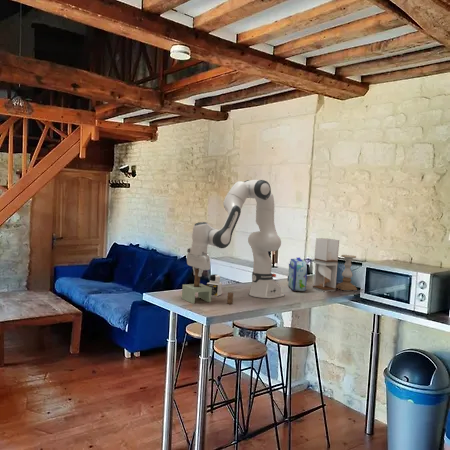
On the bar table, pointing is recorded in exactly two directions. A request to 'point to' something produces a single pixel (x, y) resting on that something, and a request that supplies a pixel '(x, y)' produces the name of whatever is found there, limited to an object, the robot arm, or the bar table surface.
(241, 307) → the bar table surface
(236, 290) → the bar table surface
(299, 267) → the lunch box
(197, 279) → the long pin
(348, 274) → the candle holder
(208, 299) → the bridge
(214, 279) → the medicine bottle
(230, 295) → the short pin
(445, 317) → the bar table surface
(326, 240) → the white stand
